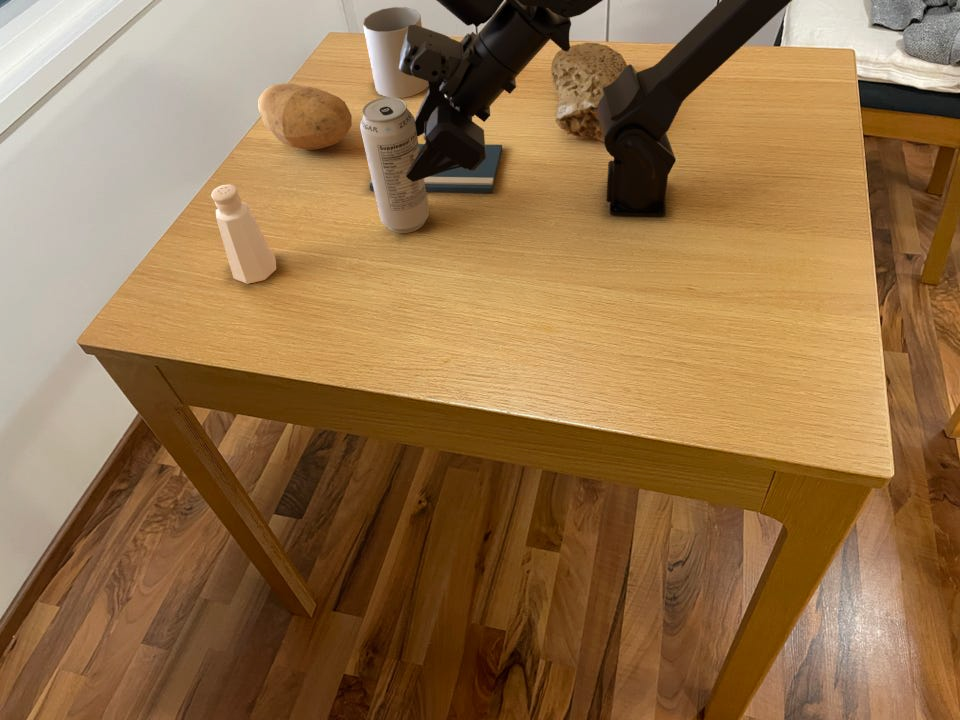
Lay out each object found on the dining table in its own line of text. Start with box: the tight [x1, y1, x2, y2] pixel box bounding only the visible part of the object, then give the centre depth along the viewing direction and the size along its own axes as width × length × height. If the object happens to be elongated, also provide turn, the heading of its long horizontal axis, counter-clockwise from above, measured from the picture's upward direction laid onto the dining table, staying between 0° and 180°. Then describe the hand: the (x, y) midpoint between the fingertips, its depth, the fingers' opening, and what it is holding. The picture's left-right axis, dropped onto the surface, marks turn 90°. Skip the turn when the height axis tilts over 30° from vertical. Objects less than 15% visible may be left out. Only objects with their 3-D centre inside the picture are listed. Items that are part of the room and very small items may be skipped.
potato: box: [257, 82, 353, 151], centre depth 103 cm, size 10×14×8 cm
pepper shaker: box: [210, 184, 277, 285], centre depth 84 cm, size 5×5×11 cm
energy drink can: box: [359, 96, 430, 234], centre depth 86 cm, size 6×6×15 cm
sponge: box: [550, 42, 629, 143], centre depth 104 cm, size 13×8×20 cm
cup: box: [362, 6, 429, 99], centre depth 112 cm, size 8×8×10 cm
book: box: [369, 143, 503, 194], centre depth 98 cm, size 16×10×1 cm, turn 81°
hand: (411, 155), depth 85 cm, fingers open, 9 cm apart
